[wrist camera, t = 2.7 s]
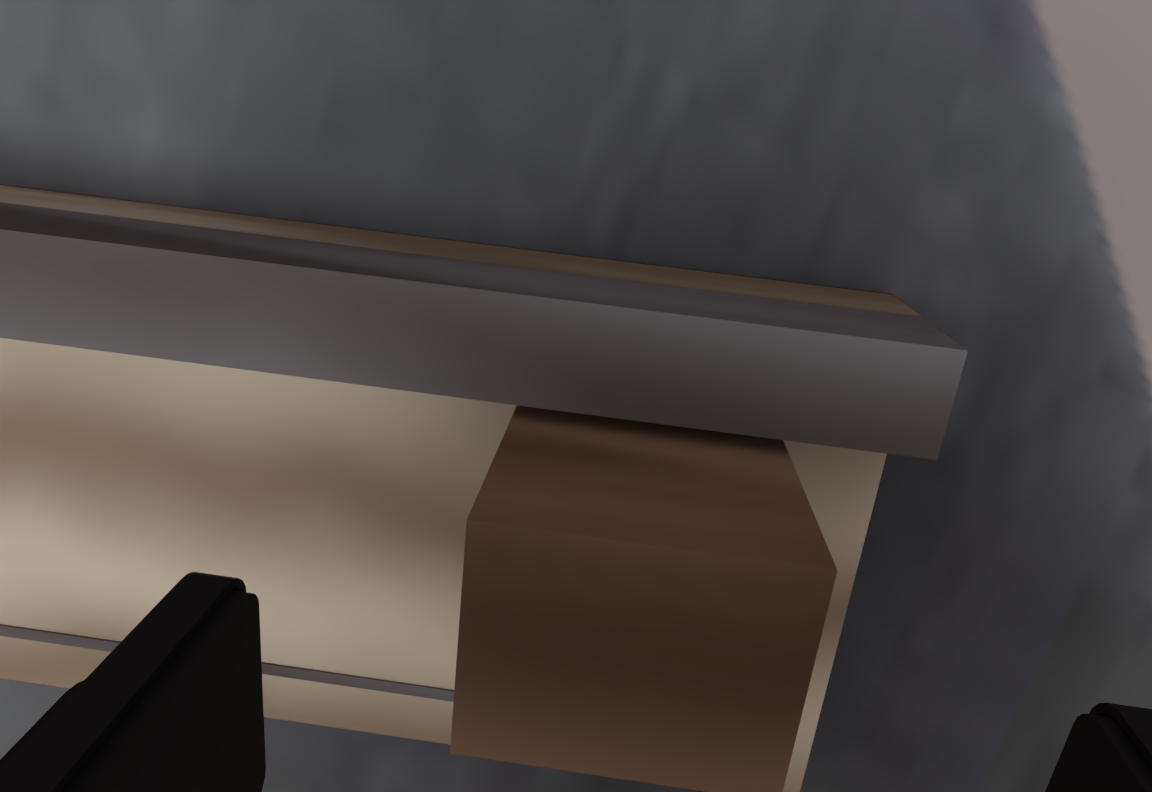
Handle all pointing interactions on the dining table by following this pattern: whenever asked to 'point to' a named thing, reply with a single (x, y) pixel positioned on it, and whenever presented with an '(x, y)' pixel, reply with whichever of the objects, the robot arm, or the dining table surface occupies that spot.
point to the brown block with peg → (639, 604)
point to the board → (378, 426)
